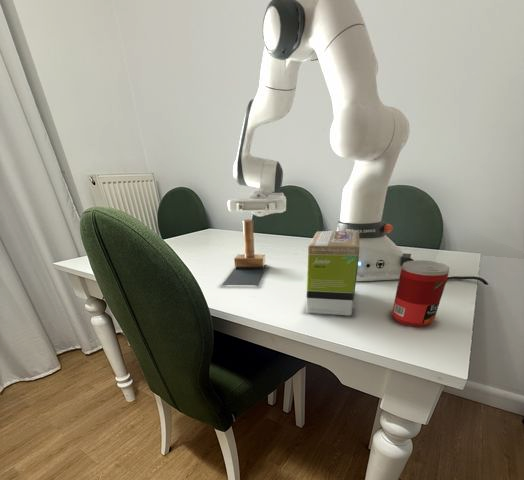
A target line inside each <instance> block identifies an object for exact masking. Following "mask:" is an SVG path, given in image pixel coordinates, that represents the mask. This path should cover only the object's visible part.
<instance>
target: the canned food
mask: <svg viewBox="0 0 524 480" xmlns="http://www.w3.org/2000/svg"><path fill="white" fill-rule="evenodd" d="M413 260H414V261H407V262H405V263H403V266H402V269H401V273H400V277H399V279H398V283H397V288H396V291H395V297H394V301H393V306H392V311H391V315H392V319H393V320H394V321H395V322H397V323H399V324H402V325H403V326H408V327H414V328H423V327H428V326H431V324H433V322H434V321H435V318H436V316H437V313H438V309H439V306H440V303H441V300H442V297H443V294H444V290H445V287H446V283H447V281H448V280H447V278H448V277H449V274H450V270H451V268H450V266H448V265H447V264H444V263H442V262H438V261H432V260H421V259H419V260H417V259H416V260H415V259H413Z"/></svg>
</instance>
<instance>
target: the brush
mask: <svg viewBox="0 0 524 480" xmlns="http://www.w3.org/2000/svg"><path fill="white" fill-rule="evenodd" d="M242 230H243V231H242V232H243V244H244V254H236V256H234V258H233V260H234V268H235V267H236V270H263V268H264V266H265V265H266V254H255V237H254V220H253V219H243V220H242Z"/></svg>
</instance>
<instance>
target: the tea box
mask: <svg viewBox="0 0 524 480" xmlns="http://www.w3.org/2000/svg"><path fill="white" fill-rule="evenodd" d="M359 248H360V245H359V231H337V230H322V231H321V230H317V231H316V232H315V234H314V236H313V237H312V239H311V241H310V242H309V245H308V246H307V264H306V267H307V270H306V298H305V299H306V303H305V308H306V309H305V312H306V313H308V314H317V315H330V316H331V315H333V316H352V312H353V306H354V299H355V292H356V284H357V281H356V277H357V269H358V260H359Z"/></svg>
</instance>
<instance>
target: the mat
mask: <svg viewBox="0 0 524 480" xmlns="http://www.w3.org/2000/svg"><path fill="white" fill-rule="evenodd" d="M267 266H268V264H265V266H264V268H263V270H236V267H235V266H234V268H233V270H232V271H231V272H230V274H229V275H228V276H227V278H226V279H225V281H224V282H223V283H222V284H221V285H222V286H258V285H259V283H260V281H261V279H262V277H263V275H264V273H265V271H266V268H267Z"/></svg>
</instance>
